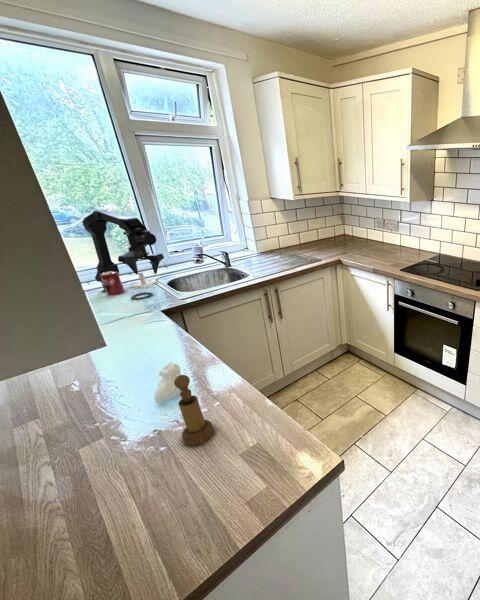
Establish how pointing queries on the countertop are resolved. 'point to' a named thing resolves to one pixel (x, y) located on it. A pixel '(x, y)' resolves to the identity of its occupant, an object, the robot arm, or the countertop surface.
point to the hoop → (142, 297)
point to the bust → (167, 383)
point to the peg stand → (143, 281)
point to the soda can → (112, 283)
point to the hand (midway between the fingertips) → (146, 273)
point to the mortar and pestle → (192, 415)
